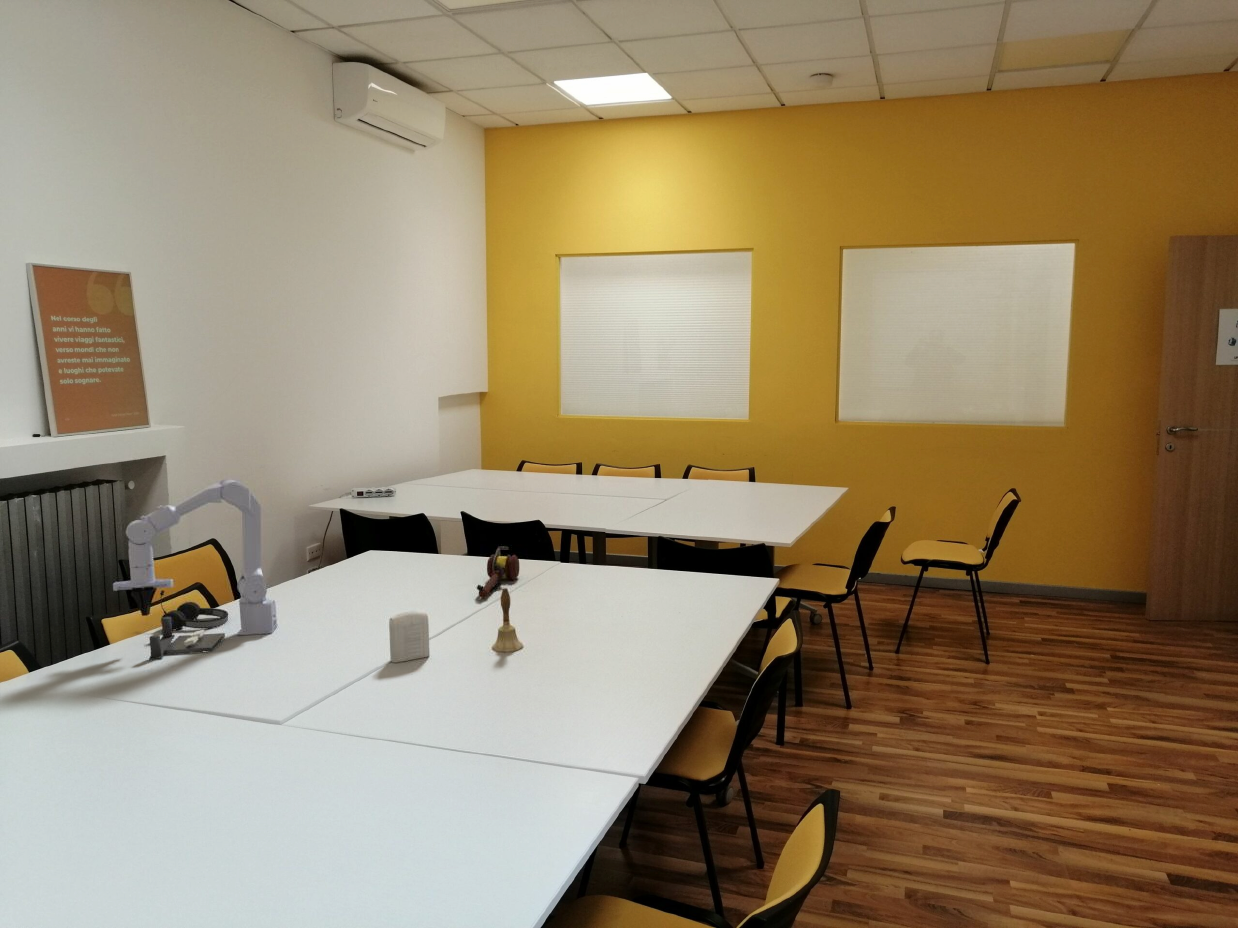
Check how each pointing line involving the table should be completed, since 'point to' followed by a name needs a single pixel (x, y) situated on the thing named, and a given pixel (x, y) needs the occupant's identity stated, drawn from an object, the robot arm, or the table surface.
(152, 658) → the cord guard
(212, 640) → the switch panel
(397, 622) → the engraved stone tablet
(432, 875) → the table surface
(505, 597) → the hand bell
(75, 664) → the table surface
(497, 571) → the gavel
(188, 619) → the headset
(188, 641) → the paddle
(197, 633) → the paddle
